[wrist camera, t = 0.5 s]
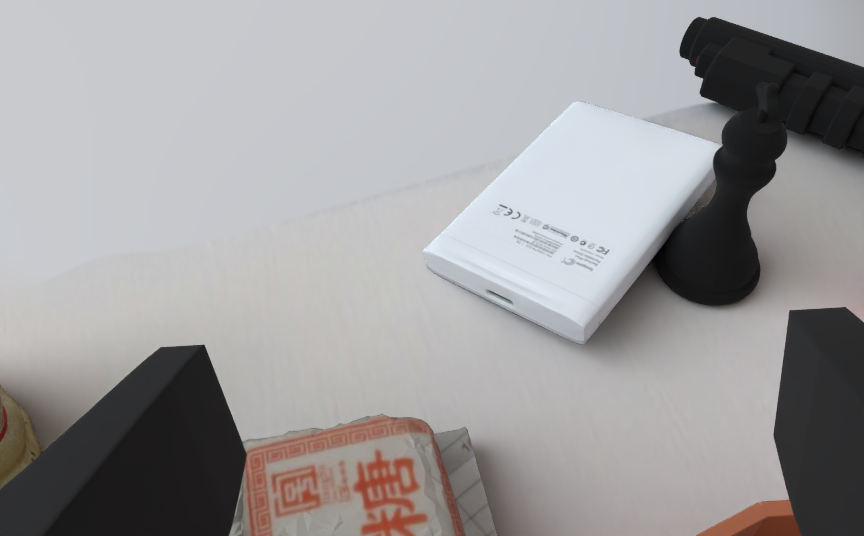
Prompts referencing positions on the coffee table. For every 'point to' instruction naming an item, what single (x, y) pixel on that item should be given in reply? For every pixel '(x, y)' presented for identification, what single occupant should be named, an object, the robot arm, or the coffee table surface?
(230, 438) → the robot arm
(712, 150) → the hard drive
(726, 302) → the chess piece
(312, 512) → the packaged product
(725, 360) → the coffee table surface
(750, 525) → the bowl
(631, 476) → the coffee table surface
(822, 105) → the gun
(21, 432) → the chocolate bunny
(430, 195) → the coffee table surface
